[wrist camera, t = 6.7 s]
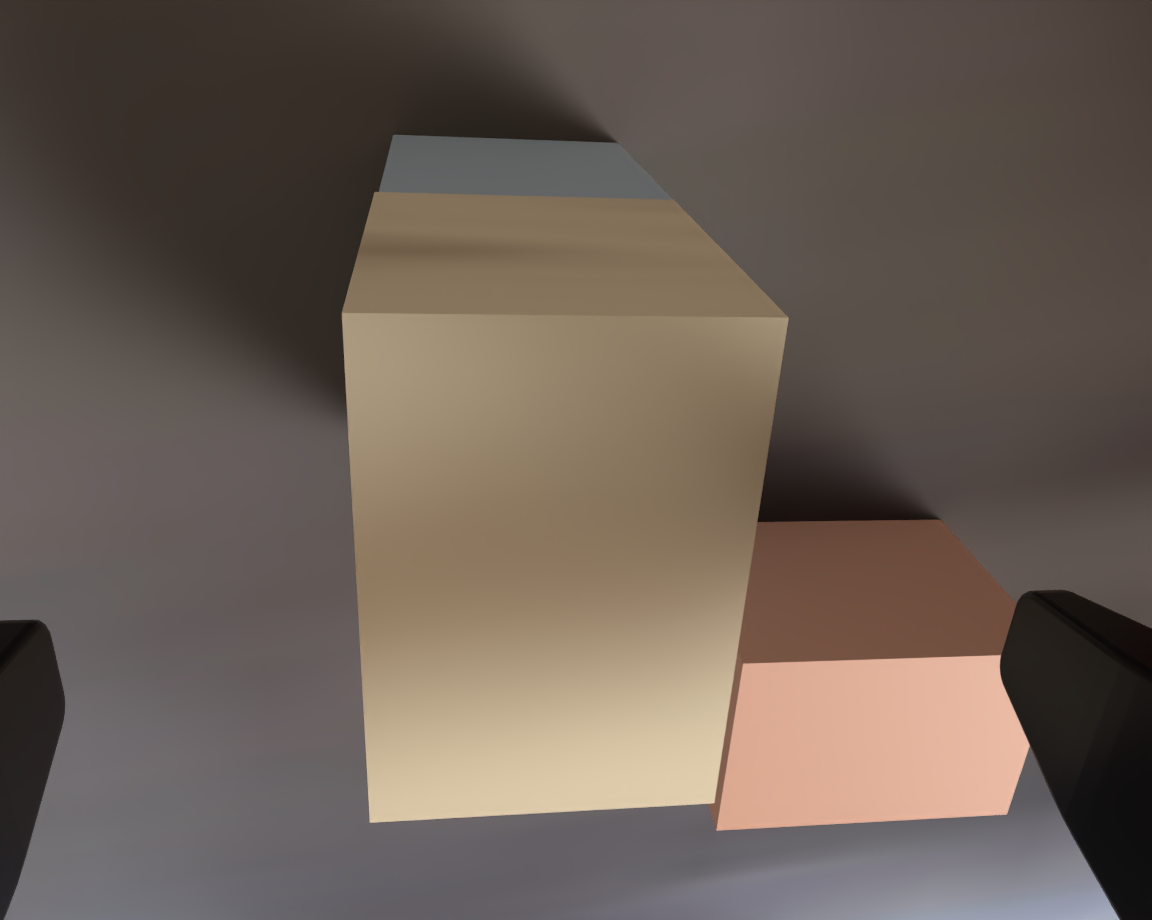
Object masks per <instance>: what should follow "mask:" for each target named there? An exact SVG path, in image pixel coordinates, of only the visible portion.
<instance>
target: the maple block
mask: <svg viewBox="0 0 1152 920" xmlns="http://www.w3.org/2000/svg"><path fill="white" fill-rule="evenodd" d="M787 325H788V317H787V316H786V315H785V313H784V312H783V311H782V310H781V309H780V308H779V307H778V306H777V305H776V304H775V303H774V302H773V301H772V300H771V299H770V298H769V297H768V296H767V295H766V294H765V293H764V292H763V291H762V290H761V289H760V288H759V287H758V286H757V285H756V284H755V283H754V282H753V281H752V280H751V279H750V278H749V276H748V275H747V274H746V273H745V272H744V271H743V270H742V269H741V268H740V267H739V266H738V265H737V264H736V263H735V262H734V261H733V260H732V259H731V258H730V257H729V256H728V255H727V254H726V253H725V252H724V251H723V250H722V249H721V248H720V247H719V246H718V245H717V244H716V243H715V242H714V241H713V240H712V238H711V237H710V236H709V235H708V234H707V233H706V232H705V231H704V230H703V229H702V228H701V227H700V226H699V225H698V224H697V223H696V222H695V221H694V220H693V219H692V218H691V217H690V216H689V215H688V214H687V213H686V212H685V211H684V210H683V209H682V208H681V207H680V206H679V205H678V204H677V203H676V201H675V200H663V199H625V198H588V197H550V196H512V195H474V194H437V193H399V192H374V196H373V199H372V203H371V207H370V210H369V214H368V218H367V222H366V225H365V229H364V233H363V236H362V240H361V244H360V247H359V251H358V255H357V258H356V262H355V266H354V270H353V273H352V277H351V281H350V284H349V288H348V292H347V295H346V299H345V303H344V306H343V310H342V327H343V345H344V363H345V381H346V399H347V417H348V435H349V454H350V472H351V490H352V508H353V526H354V544H355V562H356V580H357V598H358V616H359V634H360V652H361V670H362V688H363V706H364V724H365V742H366V760H367V779H368V797H369V815H370V823H373V822H391V821H409V820H426V819H444V818H462V817H480V816H497V815H515V814H533V813H551V812H568V811H586V810H604V809H622V808H639V807H657V806H675V805H692V804H710V803H714V801H715V795H716V788H717V782H718V775H719V769H720V762H721V756H722V749H723V743H724V736H725V730H726V723H727V717H728V710H729V703H730V697H731V690H732V684H733V677H734V671H735V664H736V658H737V651H738V645H739V638H740V632H741V625H742V619H743V612H744V606H745V599H746V593H747V586H748V579H749V573H750V566H751V560H752V553H753V547H754V540H755V534H756V527H757V521H758V514H759V508H760V501H761V495H762V488H763V482H764V475H765V469H766V462H767V455H768V449H769V442H770V436H771V429H772V423H773V416H774V410H775V403H776V397H777V390H778V384H779V377H780V371H781V364H782V358H783V351H784V344H785V338H786V331H787Z"/></svg>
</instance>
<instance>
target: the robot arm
mask: <svg viewBox="0 0 1152 920" xmlns="http://www.w3.org/2000/svg"><path fill="white" fill-rule="evenodd" d="M1000 675H1001V680H1002V683H1003V686H1004V688H1005V690H1006V693H1007V695H1008V697H1009V699H1010V702H1011V704H1012V706H1013V709H1014V711H1015V713H1016V715H1017V718H1018V720H1019V722H1020V724H1021V727H1022V729H1023V731H1024V733H1025V736H1026V738H1027V740H1028V742H1029V745H1030V747H1031V749H1032V751H1033V754H1034V756H1035V758H1036V761H1037V763H1038V765H1039V767H1040V770H1041V772H1042V774H1043V776H1044V779H1045V781H1046V783H1047V785H1048V788H1049V790H1050V792H1051V794H1052V797H1053V799H1054V801H1055V803H1056V805H1057V807H1058V809H1059V811H1060V813H1061V815H1062V817H1063V820H1064V821H1065V823H1066V825H1067V827H1068V829H1069V831H1070V833H1071V834H1072V836H1073V838H1074V840H1075V842H1076V844H1077V846H1078V847H1079V849H1080V851H1081V853H1082V854H1083V856H1084V858H1085V860H1086V861H1087V863H1088V865H1089V867H1090V868H1091V870H1092V872H1093V874H1094V875H1095V877H1096V879H1097V881H1098V882H1099V884H1100V886H1101V888H1102V889H1103V891H1104V893H1105V895H1106V896H1107V898H1108V900H1109V902H1110V903H1111V905H1112V907H1113V909H1114V911H1115V912H1116V914H1117V916H1118V918H1119V919H1120V920H1152V628H1149V627H1147V626H1145V625H1143V624H1141V623H1138V622H1136V621H1134V620H1132V619H1130V618H1128V617H1125V616H1123V615H1121V614H1119V613H1117V612H1114V611H1112V610H1110V609H1108V608H1106V607H1103V606H1101V605H1099V604H1097V603H1095V602H1092V601H1090V600H1088V599H1086V598H1084V597H1081V596H1079V595H1077V594H1075V593H1073V592H1070V591H1066V590H1041V591H1029V592H1027V593H1025V594H1023V595H1022V596H1021V598H1020V599H1019V600H1018V602H1017V605H1016V607H1015V611H1014V614H1013V617H1012V621H1011V624H1010V627H1009V631H1008V634H1007V637H1006V641H1005V644H1004V647H1003V650H1002V654H1001V658H1000ZM64 714H65V696H64V691H63V686H62V682H61V678H60V673H59V669H58V664H57V660H56V656H55V651H54V647H53V642H52V638H51V634H50V632H49V630H48V628H47V626H46V625H45V624H44V623H42V622H41V621H39V620H4V621H0V920H4V918H5V915H6V913H7V910H8V908H9V905H10V902H11V900H12V897H13V895H14V892H15V889H16V887H17V884H18V881H19V877H20V874H21V871H22V868H23V864H24V861H25V858H26V855H27V851H28V847H29V844H30V840H31V837H32V833H33V829H34V826H35V822H36V819H37V815H38V811H39V808H40V804H41V801H42V797H43V793H44V790H45V786H46V783H47V779H48V775H49V772H50V768H51V765H52V761H53V757H54V754H55V750H56V747H57V743H58V739H59V736H60V732H61V729H62V725H63V721H64Z"/></svg>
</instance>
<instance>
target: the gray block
mask: <svg viewBox="0 0 1152 920" xmlns="http://www.w3.org/2000/svg"><path fill="white" fill-rule="evenodd" d="M379 192H399V193H437V194H474V195H512V196H550V197H588V198H625V199H663V200H673V199H672V198H671V197H670V196H669V195H668V194H667V193H666V192H665V191H664V190H663V189H662V188H661V187H660V186H659V185H658V184H657V183H656V182H655V181H654V180H653V179H652V178H651V177H650V176H649V175H648V173H647V172H646V171H645V170H644V169H643V168H642V167H641V166H640V165H639V164H638V163H637V162H636V161H635V160H634V159H633V158H632V157H631V156H630V155H629V154H628V153H627V152H626V151H625V150H624V149H623V148H622V147H621V146H620V145H619V144H618V143H606V142H579V141H552V140H525V139H497V138H470V137H443V136H415V135H393V138H392V142H391V145H390V149H389V153H388V157H387V161H386V165H385V169H384V173H383V177H382V181H381V185H380V189H379Z"/></svg>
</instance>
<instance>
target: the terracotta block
mask: <svg viewBox="0 0 1152 920" xmlns="http://www.w3.org/2000/svg"><path fill="white" fill-rule="evenodd" d="M1016 605H1017V604H1016V603H1015V602H1014V601H1013V600H1012V599H1011V598H1010V596H1009V595H1008V594H1007V593H1006V592H1005V591H1004V590H1003V589H1002V587H1001V586H1000V585H999V584H998V583H997V582H996V581H995V580H994V579H993V577H992V576H991V575H990V574H989V573H988V572H987V571H986V570H985V569H984V567H983V566H982V565H981V564H980V563H979V562H978V561H977V560H976V558H975V557H974V556H973V555H972V554H971V553H970V552H969V551H968V550H967V548H966V547H965V546H964V545H963V544H962V543H961V542H960V541H959V539H958V538H957V537H956V536H955V535H954V534H953V533H952V532H951V531H950V529H949V528H948V527H947V526H946V525H945V524H944V523H943V522H942V520H872V521H802V522H757V527H756V534H755V540H754V547H753V553H752V560H751V566H750V573H749V579H748V586H747V593H746V599H745V606H744V612H743V619H742V625H741V632H740V638H739V645H738V651H737V658H736V664H735V671H734V677H733V684H732V690H731V697H730V703H729V710H728V717H727V723H726V730H725V736H724V743H723V749H722V756H721V762H720V769H719V775H718V782H717V788H716V795H715V801H714V803H710V804H708V806H709V809H710V812H711V815H712V818H713V821H714V824H715V828H716V831H717V830H735V829H753V828H771V827H789V826H807V825H825V824H843V823H861V822H879V821H897V820H915V819H933V818H951V817H969V816H987V815H1005V814H1007V812H1008V809H1009V806H1010V803H1011V800H1012V797H1013V794H1014V791H1015V788H1016V785H1017V782H1018V779H1019V776H1020V773H1021V770H1022V767H1023V764H1024V761H1025V758H1026V755H1027V752H1028V749H1029V746H1030V745H1029V742H1028V740H1027V738H1026V736H1025V733H1024V731H1023V729H1022V727H1021V724H1020V722H1019V720H1018V718H1017V715H1016V713H1015V711H1014V709H1013V706H1012V704H1011V702H1010V699H1009V697H1008V695H1007V693H1006V690H1005V688H1004V686H1003V683H1002V680H1001V675H1000V658H1001V654H1002V650H1003V647H1004V644H1005V641H1006V637H1007V634H1008V631H1009V627H1010V624H1011V621H1012V617H1013V614H1014V611H1015V607H1016Z"/></svg>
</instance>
